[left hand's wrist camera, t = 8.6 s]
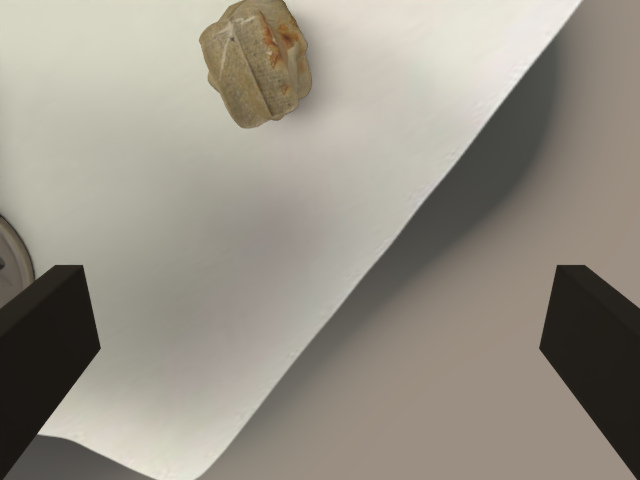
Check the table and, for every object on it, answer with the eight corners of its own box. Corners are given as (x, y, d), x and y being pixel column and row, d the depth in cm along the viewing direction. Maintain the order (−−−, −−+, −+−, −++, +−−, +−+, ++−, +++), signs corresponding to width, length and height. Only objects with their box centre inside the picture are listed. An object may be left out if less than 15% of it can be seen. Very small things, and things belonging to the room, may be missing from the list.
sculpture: (252, 113, 36) (209, 149, 22) (218, 16, 33) (146, -13, 20) (323, 90, 35) (324, 113, 22) (294, -10, 33) (275, -58, 19)
